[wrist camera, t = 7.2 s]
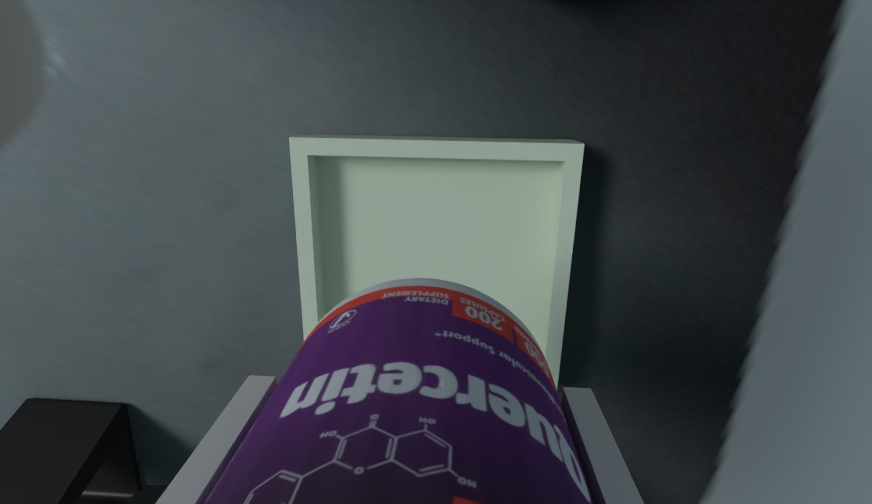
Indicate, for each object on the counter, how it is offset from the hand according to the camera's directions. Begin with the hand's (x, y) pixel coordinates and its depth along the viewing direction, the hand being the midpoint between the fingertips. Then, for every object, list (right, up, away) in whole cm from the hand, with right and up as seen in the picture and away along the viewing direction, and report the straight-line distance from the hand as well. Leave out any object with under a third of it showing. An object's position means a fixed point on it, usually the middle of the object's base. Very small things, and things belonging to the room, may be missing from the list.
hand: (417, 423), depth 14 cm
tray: (0, +4, +13) cm, 13 cm away
